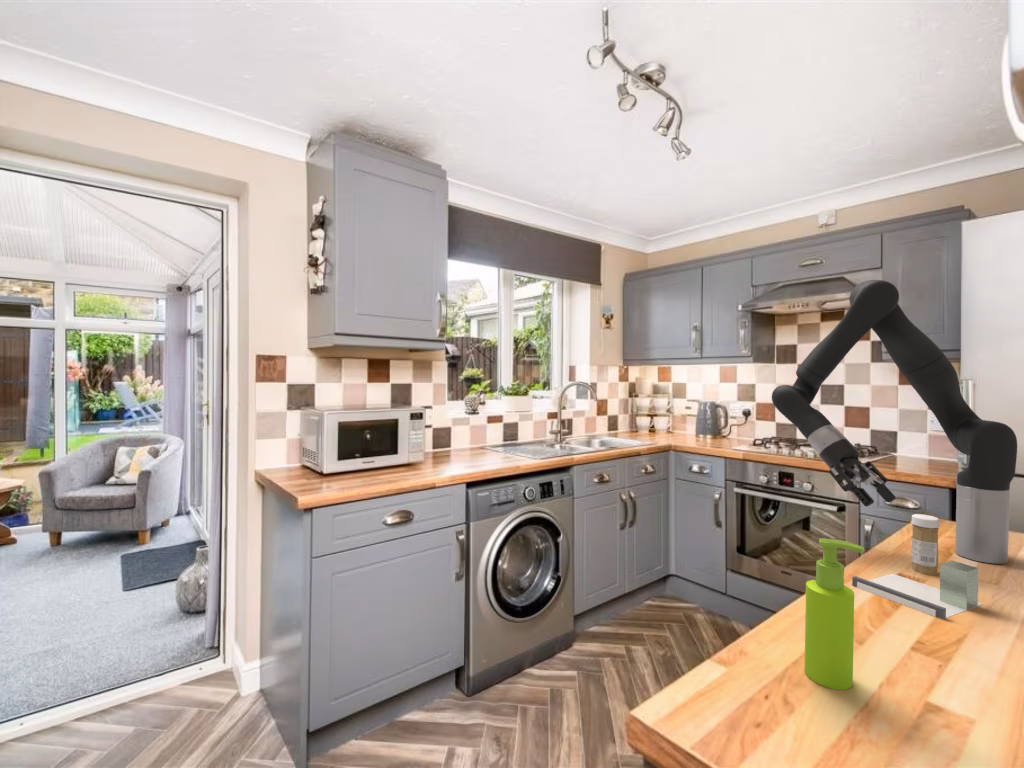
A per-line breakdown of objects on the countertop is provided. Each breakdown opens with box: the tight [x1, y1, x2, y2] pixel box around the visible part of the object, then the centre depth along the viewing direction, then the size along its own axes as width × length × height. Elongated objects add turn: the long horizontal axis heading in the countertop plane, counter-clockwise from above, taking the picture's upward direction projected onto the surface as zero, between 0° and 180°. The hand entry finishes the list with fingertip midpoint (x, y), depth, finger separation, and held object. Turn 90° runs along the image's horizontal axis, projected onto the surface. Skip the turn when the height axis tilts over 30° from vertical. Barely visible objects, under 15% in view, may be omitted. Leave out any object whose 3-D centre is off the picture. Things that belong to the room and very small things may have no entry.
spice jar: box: [911, 513, 940, 576], centre depth 106 cm, size 5×5×14 cm
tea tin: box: [939, 560, 980, 611], centre depth 91 cm, size 4×4×7 cm
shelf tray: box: [851, 573, 984, 620], centre depth 95 cm, size 14×15×3 cm
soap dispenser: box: [804, 537, 865, 691], centre depth 71 cm, size 6×7×20 cm
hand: (881, 502), depth 114 cm, fingers open, 8 cm apart
